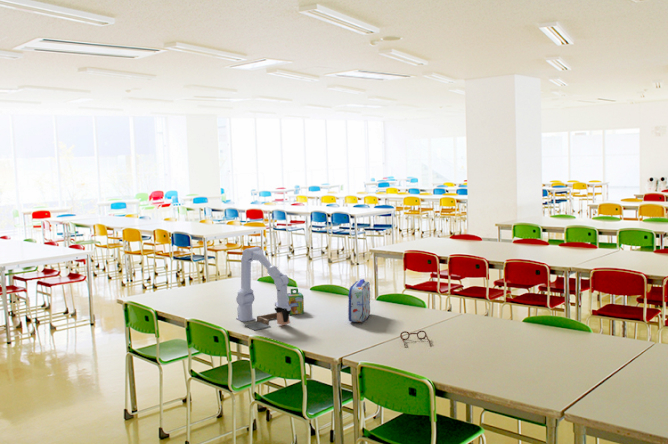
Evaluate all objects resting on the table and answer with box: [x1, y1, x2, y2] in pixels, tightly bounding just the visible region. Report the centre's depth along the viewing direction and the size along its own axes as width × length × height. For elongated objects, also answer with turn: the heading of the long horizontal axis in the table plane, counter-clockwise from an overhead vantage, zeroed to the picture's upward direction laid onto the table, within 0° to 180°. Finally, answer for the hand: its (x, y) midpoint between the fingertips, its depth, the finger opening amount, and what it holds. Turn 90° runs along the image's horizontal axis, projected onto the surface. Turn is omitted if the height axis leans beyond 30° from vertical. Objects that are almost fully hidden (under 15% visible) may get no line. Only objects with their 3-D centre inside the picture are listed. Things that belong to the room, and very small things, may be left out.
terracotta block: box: [276, 312, 290, 326], centre depth 324 cm, size 5×5×6 cm
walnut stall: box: [256, 312, 277, 326], centre depth 334 cm, size 12×14×3 cm
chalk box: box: [287, 287, 305, 316], centre depth 352 cm, size 9×9×15 cm
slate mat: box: [244, 321, 272, 331], centre depth 324 cm, size 12×10×1 cm
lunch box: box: [347, 279, 371, 323], centre depth 333 cm, size 28×10×22 cm, turn 168°
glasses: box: [399, 330, 432, 349], centre depth 285 cm, size 13×13×5 cm
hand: (283, 320), depth 324 cm, fingers closed on terracotta block, 5 cm apart
